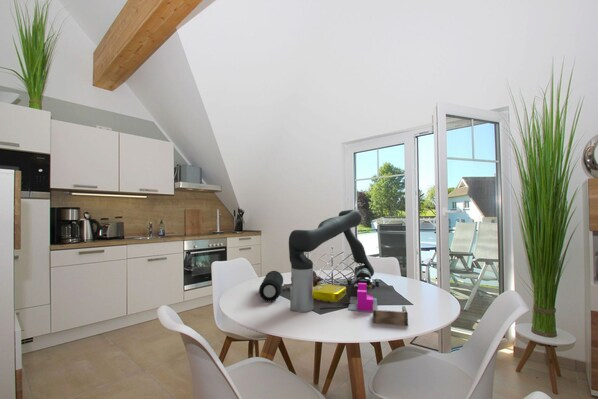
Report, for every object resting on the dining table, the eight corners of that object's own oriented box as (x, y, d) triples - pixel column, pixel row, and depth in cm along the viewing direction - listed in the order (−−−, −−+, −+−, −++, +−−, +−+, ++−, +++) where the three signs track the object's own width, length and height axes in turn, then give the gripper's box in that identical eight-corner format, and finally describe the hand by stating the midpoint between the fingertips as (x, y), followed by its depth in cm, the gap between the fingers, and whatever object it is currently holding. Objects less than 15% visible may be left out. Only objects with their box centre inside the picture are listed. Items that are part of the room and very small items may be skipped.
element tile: (336, 303, 131) (336, 293, 131) (306, 299, 138) (306, 289, 139) (347, 295, 144) (347, 285, 144) (320, 291, 151) (319, 282, 152)
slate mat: (348, 310, 121) (348, 309, 121) (350, 297, 139) (350, 296, 139) (377, 312, 119) (377, 311, 119) (376, 299, 136) (376, 298, 136)
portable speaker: (265, 288, 158) (265, 269, 158) (283, 288, 157) (283, 269, 158) (258, 303, 132) (258, 281, 132) (280, 303, 132) (280, 280, 132)
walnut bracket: (373, 322, 107) (373, 310, 107) (373, 315, 115) (372, 304, 115) (407, 325, 105) (407, 312, 105) (405, 317, 112) (405, 306, 112)
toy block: (373, 310, 119) (372, 292, 119) (357, 309, 120) (357, 291, 121) (372, 299, 134) (372, 283, 134) (358, 299, 135) (358, 282, 135)
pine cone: (289, 289, 154) (289, 270, 154) (292, 284, 164) (292, 267, 164) (323, 290, 152) (322, 271, 152) (323, 285, 162) (323, 267, 162)
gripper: (349, 270, 148) (346, 277, 132) (378, 271, 145) (379, 278, 129) (349, 285, 148) (347, 293, 132) (378, 286, 144) (379, 295, 129)
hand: (362, 286), depth 130 cm, fingers open, 8 cm apart
